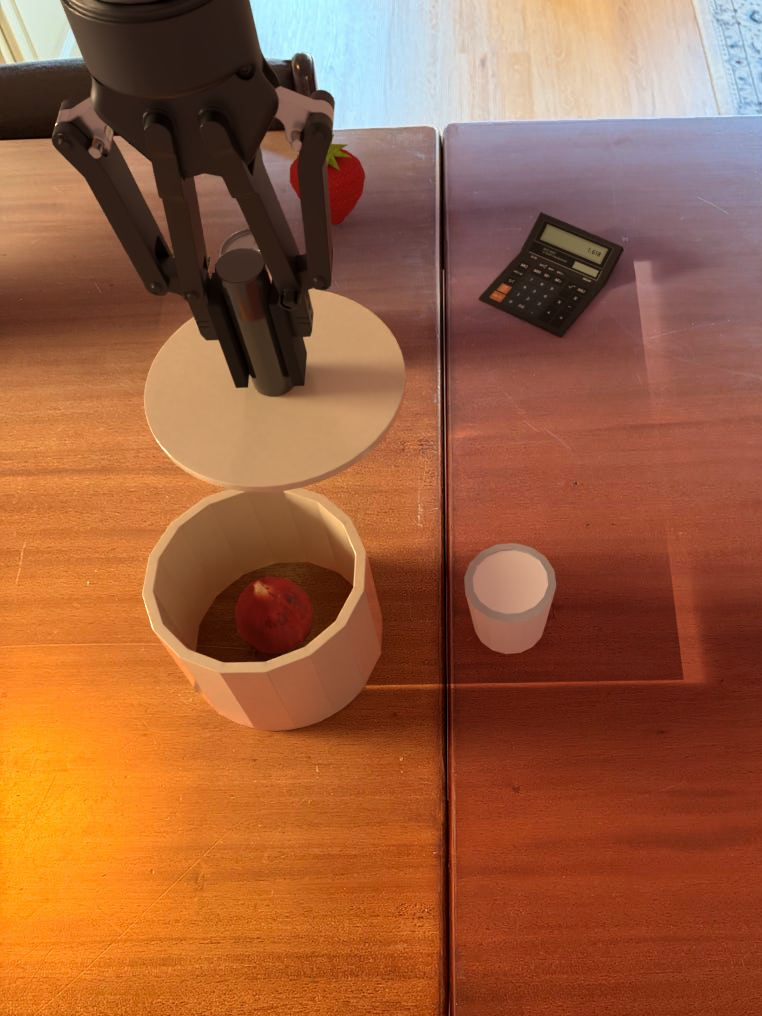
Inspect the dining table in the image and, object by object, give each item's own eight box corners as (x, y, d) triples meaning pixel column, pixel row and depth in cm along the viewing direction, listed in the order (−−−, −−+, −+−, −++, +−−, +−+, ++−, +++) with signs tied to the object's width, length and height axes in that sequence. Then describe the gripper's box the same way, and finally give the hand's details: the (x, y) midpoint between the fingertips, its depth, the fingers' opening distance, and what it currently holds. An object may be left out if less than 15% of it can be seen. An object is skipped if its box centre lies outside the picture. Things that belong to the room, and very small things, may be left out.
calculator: (479, 304, 92) (478, 279, 89) (541, 234, 96) (542, 209, 93) (560, 342, 89) (562, 318, 86) (621, 268, 93) (624, 243, 91)
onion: (328, 611, 76) (310, 558, 69) (310, 675, 73) (289, 627, 66) (259, 601, 76) (234, 548, 69) (239, 664, 74) (210, 615, 67)
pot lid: (132, 502, 57) (61, 385, 48) (167, 304, 64) (112, 170, 55) (405, 494, 56) (386, 375, 47) (408, 296, 64) (393, 161, 55)
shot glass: (527, 677, 73) (529, 636, 67) (451, 640, 75) (446, 596, 69) (566, 610, 76) (572, 564, 70) (492, 575, 77) (491, 528, 71)
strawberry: (303, 204, 99) (283, 113, 90) (373, 203, 99) (361, 113, 90) (297, 242, 96) (276, 153, 87) (370, 242, 96) (356, 152, 87)
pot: (176, 732, 72) (127, 674, 62) (201, 559, 79) (161, 484, 69) (378, 729, 71) (360, 670, 62) (386, 556, 79) (370, 480, 69)
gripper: (-76, 15, 36) (136, 421, 57) (335, 0, 36) (397, 413, 57) (-32, -89, 39) (153, 330, 60) (344, -103, 39) (399, 322, 60)
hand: (271, 369), depth 58 cm, fingers closed on pot lid, 3 cm apart
